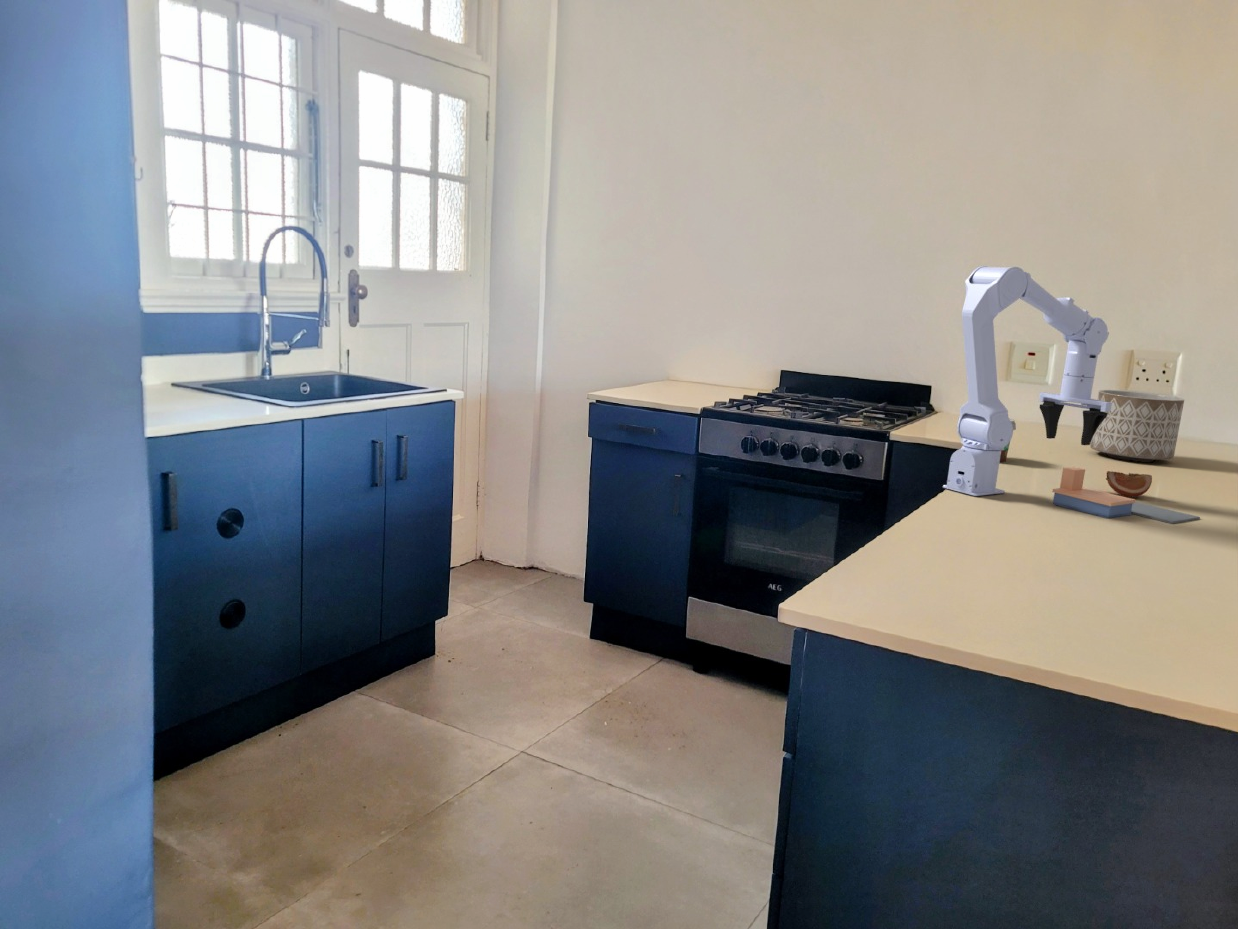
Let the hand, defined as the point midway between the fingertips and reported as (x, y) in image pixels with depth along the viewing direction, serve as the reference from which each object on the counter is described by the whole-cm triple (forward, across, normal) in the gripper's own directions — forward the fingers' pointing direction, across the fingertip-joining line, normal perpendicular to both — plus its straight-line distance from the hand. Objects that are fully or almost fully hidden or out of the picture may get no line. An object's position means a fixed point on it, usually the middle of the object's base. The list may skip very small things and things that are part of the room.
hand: (1067, 441), depth 194 cm
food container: (+10, +27, -17) cm, 33 cm away
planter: (+10, +17, -60) cm, 63 cm away
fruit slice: (+10, -9, -9) cm, 16 cm away
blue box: (+10, -14, +12) cm, 21 cm away
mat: (+10, -20, +2) cm, 23 cm away
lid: (+8, -14, +12) cm, 20 cm away
